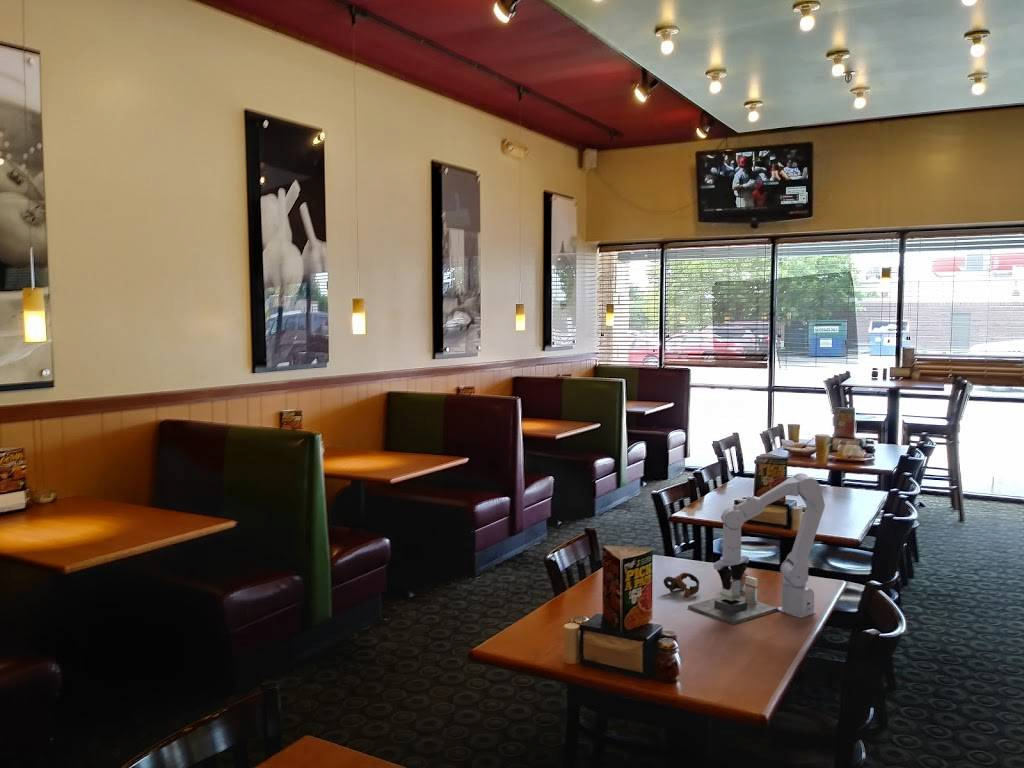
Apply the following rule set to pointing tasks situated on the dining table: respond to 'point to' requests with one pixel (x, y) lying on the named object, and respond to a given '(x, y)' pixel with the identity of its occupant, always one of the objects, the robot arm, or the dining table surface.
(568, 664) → the dining table surface
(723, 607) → the stand base
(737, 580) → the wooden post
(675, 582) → the broken terracotta ring
